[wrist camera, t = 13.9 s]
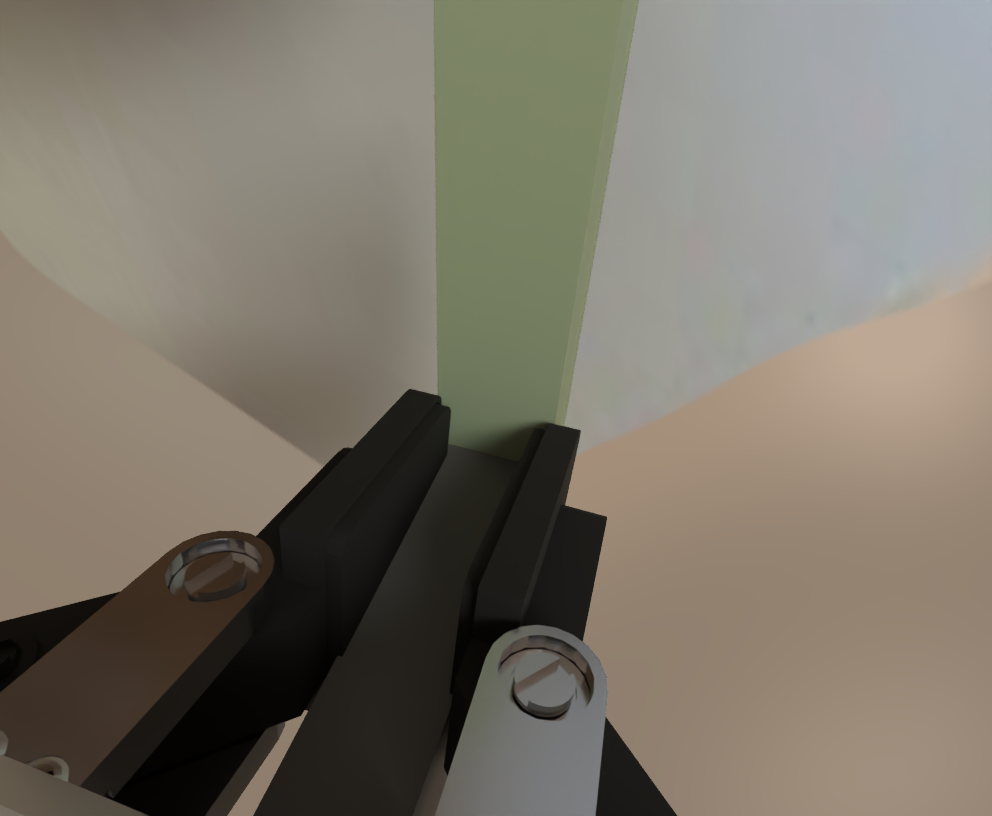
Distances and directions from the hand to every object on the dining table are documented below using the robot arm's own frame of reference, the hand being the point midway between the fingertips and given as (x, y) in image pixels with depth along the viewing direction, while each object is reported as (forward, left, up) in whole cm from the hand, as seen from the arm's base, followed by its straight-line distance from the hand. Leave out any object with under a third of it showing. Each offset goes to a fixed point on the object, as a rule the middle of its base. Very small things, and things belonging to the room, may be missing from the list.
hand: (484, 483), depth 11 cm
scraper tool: (0, -3, -1) cm, 3 cm away
